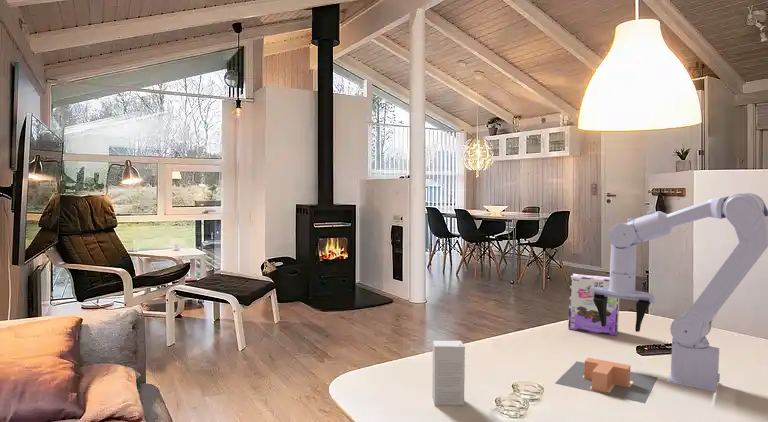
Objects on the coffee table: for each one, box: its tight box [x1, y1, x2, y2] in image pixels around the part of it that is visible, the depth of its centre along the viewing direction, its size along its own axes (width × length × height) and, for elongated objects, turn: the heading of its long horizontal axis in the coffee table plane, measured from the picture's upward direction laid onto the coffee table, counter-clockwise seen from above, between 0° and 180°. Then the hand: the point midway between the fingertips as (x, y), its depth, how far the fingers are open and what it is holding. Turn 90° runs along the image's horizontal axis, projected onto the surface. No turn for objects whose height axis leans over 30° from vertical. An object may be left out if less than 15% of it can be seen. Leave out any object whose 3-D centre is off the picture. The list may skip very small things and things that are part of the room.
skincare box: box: [431, 340, 466, 407], centre depth 109 cm, size 6×4×12 cm
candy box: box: [567, 273, 620, 336], centre depth 164 cm, size 14×6×16 cm, turn 62°
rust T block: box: [584, 357, 631, 393], centre depth 118 cm, size 9×9×4 cm
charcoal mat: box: [554, 361, 658, 404], centre depth 121 cm, size 18×18×1 cm
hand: (620, 328), depth 132 cm, fingers open, 7 cm apart
